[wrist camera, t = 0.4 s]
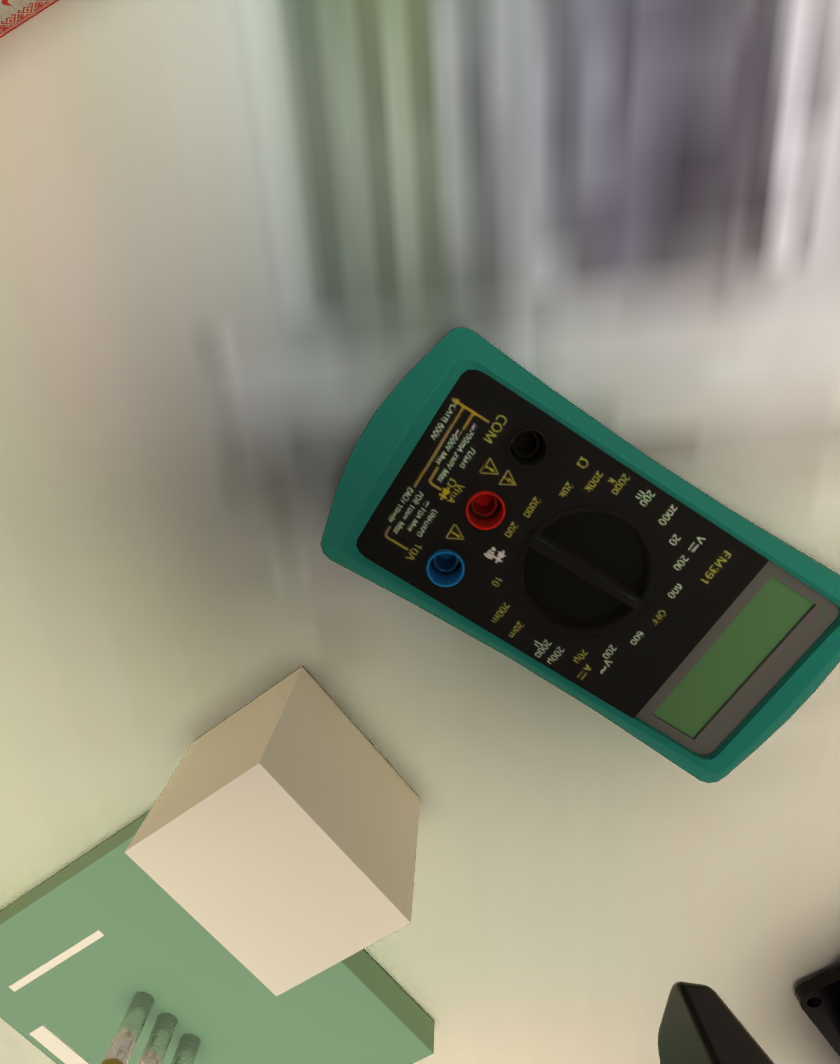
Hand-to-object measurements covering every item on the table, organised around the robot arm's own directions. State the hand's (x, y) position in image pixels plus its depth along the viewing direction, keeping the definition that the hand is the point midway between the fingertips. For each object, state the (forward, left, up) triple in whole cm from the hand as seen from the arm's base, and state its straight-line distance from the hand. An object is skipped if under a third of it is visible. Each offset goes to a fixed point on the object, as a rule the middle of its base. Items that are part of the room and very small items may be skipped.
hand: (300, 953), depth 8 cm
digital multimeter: (-3, -5, -14) cm, 15 cm away
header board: (-9, +17, -13) cm, 23 cm away
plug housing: (-4, +7, -13) cm, 15 cm away
